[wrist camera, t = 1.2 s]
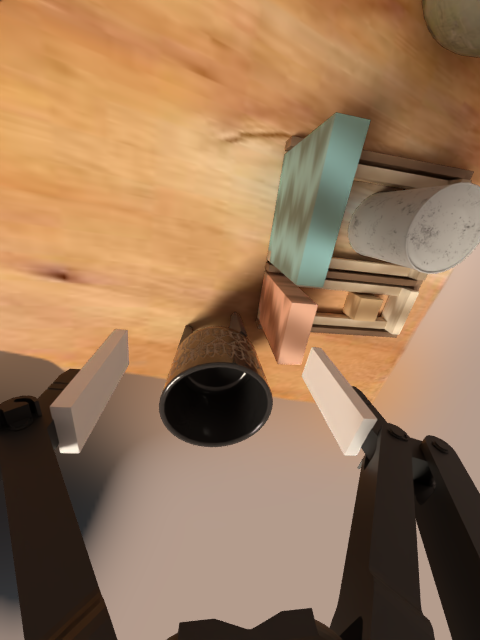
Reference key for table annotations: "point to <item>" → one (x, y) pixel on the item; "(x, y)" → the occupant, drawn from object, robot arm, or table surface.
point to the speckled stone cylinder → (419, 226)
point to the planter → (215, 387)
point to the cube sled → (300, 313)
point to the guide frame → (390, 164)
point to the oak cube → (362, 306)
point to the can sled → (328, 201)
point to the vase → (454, 24)
